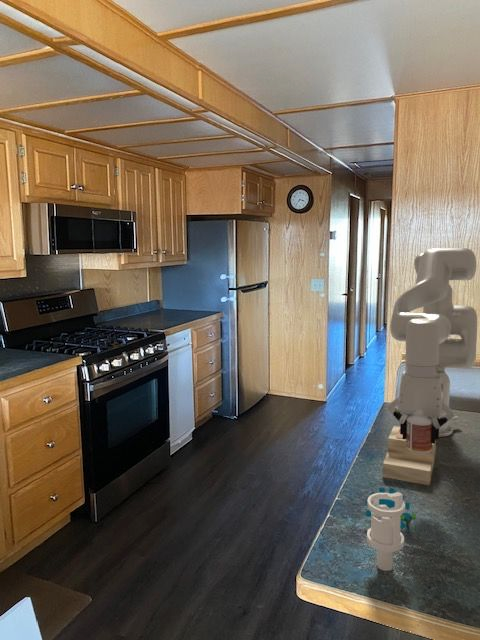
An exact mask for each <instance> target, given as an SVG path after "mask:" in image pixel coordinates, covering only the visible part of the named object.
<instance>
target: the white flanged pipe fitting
mask: <svg viewBox="0 0 480 640" xmlns="http://www.w3.org/2000/svg"><path fill="white" fill-rule="evenodd" d="M401 493H402V492H399V491H397V492H395V493H393V494H389V492H384V493H380V492H375V494H372V495H370V494H369V496H368V498H367V500H368V504H367V506H366V507H367V509H368V510H369V511H370V512H371V516H370V528H368V529H367V531H366V542H367V544H369V545H370V546H371V547H372V548H373V549H375V550H376V567H377V569H379V570H381V571H384V572H389V571H392V570H393V569H394V568H393V566H394V565H393V564H394V563H393V562H394V561H393V560H394V552H398V551H400V550H402V549H403V547H404V545H405V536H404V535H403V533H402V531H401V528H400V523H401V518H400V516H401V515H402V513H404V512H405V511H406V509H405V503H406V501H404V500H403V495H404V494H403V493H402V494H401ZM379 499H388V500H392V501H395V507H392V508H389V507H388V506H386V505H379ZM405 513H406V512H405ZM389 517H393V518H389Z"/></svg>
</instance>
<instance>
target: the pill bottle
mask: <svg viewBox="0 0 480 640" xmlns="http://www.w3.org/2000/svg"><path fill="white" fill-rule="evenodd" d="M406 420H407V424H406V447H407V449H408V450H410V451H412V452H415V453H428V452H430V451H431V450H432V428H433V422H432V419H431V417H425V416H424V414H423V412H422V410H416V412H415V413H414V415H408V416H407V418H406Z"/></svg>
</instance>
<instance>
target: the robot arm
mask: <svg viewBox="0 0 480 640" xmlns="http://www.w3.org/2000/svg"><path fill="white" fill-rule="evenodd" d="M413 266H414V269H415V272H416V273H415V274H416V281H415V284H414V285H412V286H411V287H409V288H408V289H407V290H405V291H404V292H403V293H402V294H401V295H400V296H399V297H398V298H397V300H396V301H395V303H394V305H393V310H392V314H391V318H390V325H389V328H390V329H389V330H390V335H391V337H393V339H394V340H396V341H397V342H398V341H399V342H405V356H404V357H405V358H404V359H405V360H404V361H405V362H404V365H405V366H404V371H403V372H402V374H401V378H400V383H399V389H398V390H399V392H398V397H397V398H395V399H393V401H391V402H390V403H389V404H388V405H387V407H386V408H387V410H388V411H389V412H390V413H391V414H392V415H393V416H394V418H395V419H396V420H397V421H398V422H399V425H400V426H399V427H400V434H402V435H403V439H406V424H407V416H408V415H414V413H415V412H416V410H422V412H423V414H424V416H425V417H431V419H432V422H433V428H432V443H433V444H435V441H436V442H437V440H438V441H439V438H442V437H448V436H451V435H452V434H453V432H454V429H453V426H452V425H453V423H458V422H460V420H461V419H460V417H459V416H458V415H457V416H456V415H455V412H454V410H452V408H450V392H451V391H450V389H451V380H450V378H449V375H448V373H447V372H446V369H447V368H449V369H462V370H469V369H472V368H473V367H474V365H475V364H476V360H477V358H476V357H477V340H478V338H477V337H478V314H477V310H476V309H475V308H474V307H472V306H469V305H462V304H461V305H460V304H456V305H454V304H453V288H452V286H451V284H450V281H471V280H473V278H474V276H475V274H476V271H477V259H476V255H475V252H474V251H473V250H472V249H470V248H467V247H466V248H465V247H443V248H442V247H441V248H439V247H438V248H431V249H428V250H425V251H424V252H423V253H420V254H418V255H416V256H415V258H414V265H413ZM421 308H423V309H422V311H423V312H412V311H414V310H417V309H421ZM451 336H459V337H460V338H452V337H451ZM450 337H451V338H450ZM396 407H397V408H396ZM451 424H452V425H451Z"/></svg>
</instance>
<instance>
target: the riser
mask: <svg viewBox="0 0 480 640" xmlns="http://www.w3.org/2000/svg"><path fill="white" fill-rule="evenodd" d="M436 443H437V440H436V441H435V444H433V443H432V450H431V451H430V452H428V453H415V452H412V451H410V450H408V449H407V447H406V439H403V435H402V434H400V426H398V425H397V426H396V425H393V427H392V429H391V432H390V434H389V435H388V441H387V453H386V456H385V458H384V459H383V463H382V478H385V479H392V480H397V481H403V482H408V483H414V484H420V485H425V486H430V485H431V481H432V475H433V470H434V464H435V460H436V449H437V448H436V447H437V445H436Z"/></svg>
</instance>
